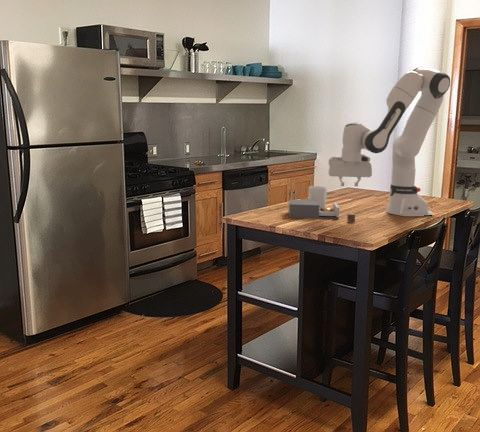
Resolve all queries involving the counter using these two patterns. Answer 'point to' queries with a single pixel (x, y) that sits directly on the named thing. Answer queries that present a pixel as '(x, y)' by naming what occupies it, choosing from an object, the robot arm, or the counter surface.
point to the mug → (318, 195)
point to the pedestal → (351, 217)
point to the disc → (326, 209)
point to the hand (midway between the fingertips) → (349, 186)
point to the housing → (306, 209)
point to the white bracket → (334, 213)
